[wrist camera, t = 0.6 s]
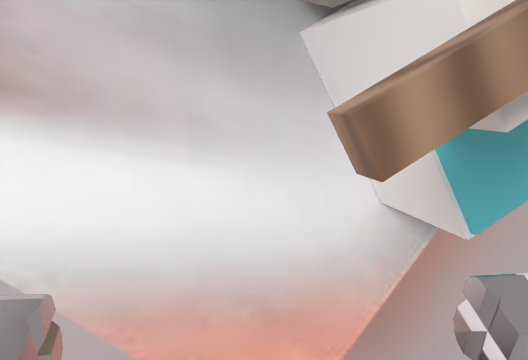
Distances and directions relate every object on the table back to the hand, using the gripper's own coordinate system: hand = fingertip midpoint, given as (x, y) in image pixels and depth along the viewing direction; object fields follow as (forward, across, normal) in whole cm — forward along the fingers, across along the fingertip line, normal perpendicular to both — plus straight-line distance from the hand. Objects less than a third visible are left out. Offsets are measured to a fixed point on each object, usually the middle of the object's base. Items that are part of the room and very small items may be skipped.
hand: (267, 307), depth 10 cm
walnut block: (+21, -18, 0) cm, 28 cm away
